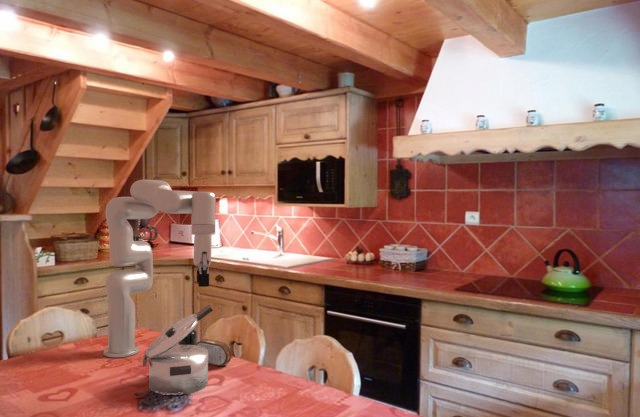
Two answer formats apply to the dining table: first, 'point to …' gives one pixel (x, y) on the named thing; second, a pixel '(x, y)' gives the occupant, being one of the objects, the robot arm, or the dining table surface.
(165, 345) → the cooker lid
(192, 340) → the supplement bottle
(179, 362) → the cooker pot
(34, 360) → the dining table surface
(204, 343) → the tin
